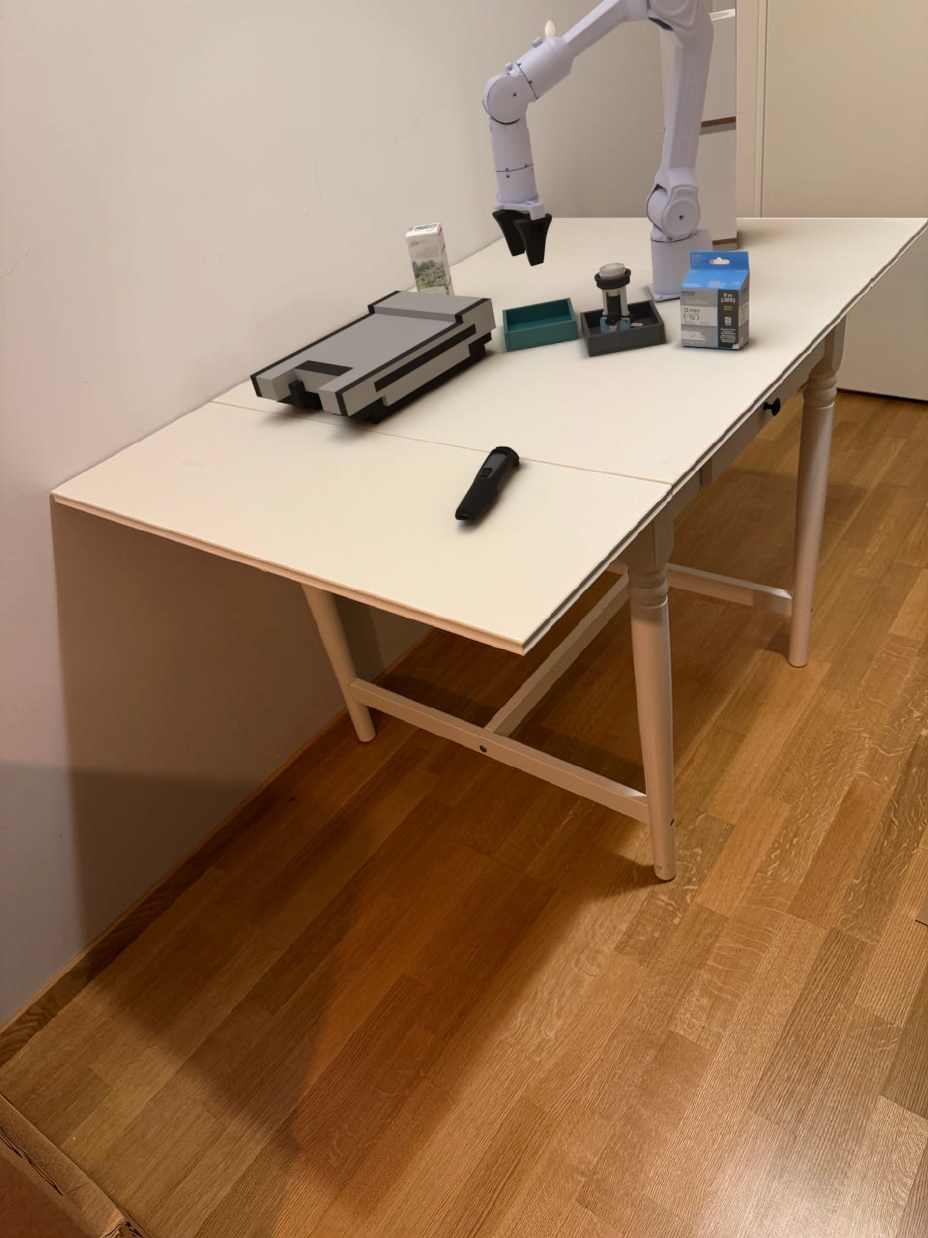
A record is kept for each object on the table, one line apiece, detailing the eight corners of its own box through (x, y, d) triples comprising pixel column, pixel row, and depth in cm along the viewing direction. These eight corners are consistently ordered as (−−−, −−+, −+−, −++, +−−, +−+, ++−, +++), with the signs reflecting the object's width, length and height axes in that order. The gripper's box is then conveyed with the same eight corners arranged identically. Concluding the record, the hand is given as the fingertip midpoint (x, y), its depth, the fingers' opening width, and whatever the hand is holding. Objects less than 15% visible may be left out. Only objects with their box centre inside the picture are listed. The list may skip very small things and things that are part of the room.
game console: (264, 418, 138) (247, 367, 133) (407, 338, 155) (396, 290, 150) (355, 440, 125) (339, 385, 120) (500, 350, 142) (491, 298, 137)
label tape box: (680, 346, 130) (676, 259, 123) (692, 335, 132) (689, 249, 125) (738, 351, 125) (738, 260, 118) (750, 339, 127) (750, 249, 120)
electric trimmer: (448, 531, 101) (443, 507, 99) (494, 462, 112) (490, 439, 110) (479, 533, 100) (474, 508, 98) (523, 462, 111) (519, 439, 109)
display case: (736, 231, 168) (735, 8, 147) (736, 249, 160) (735, 15, 139) (673, 239, 171) (663, 22, 150) (670, 257, 163) (659, 30, 142)
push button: (649, 327, 137) (645, 260, 131) (634, 341, 134) (629, 273, 128) (609, 326, 140) (603, 260, 135) (594, 339, 137) (587, 273, 131)
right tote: (653, 317, 141) (652, 299, 139) (665, 342, 132) (664, 323, 130) (581, 330, 142) (579, 312, 141) (589, 356, 133) (587, 337, 132)
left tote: (572, 314, 149) (570, 297, 147) (578, 338, 140) (576, 320, 138) (504, 327, 150) (502, 309, 148) (507, 351, 141) (504, 333, 140)
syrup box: (457, 303, 165) (441, 220, 156) (453, 314, 160) (437, 229, 152) (426, 308, 166) (409, 225, 157) (422, 319, 161) (404, 235, 153)
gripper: (473, 167, 140) (488, 257, 148) (507, 179, 129) (521, 275, 137) (514, 156, 142) (527, 245, 150) (552, 166, 130) (564, 262, 138)
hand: (527, 259), depth 143 cm, fingers open, 7 cm apart
